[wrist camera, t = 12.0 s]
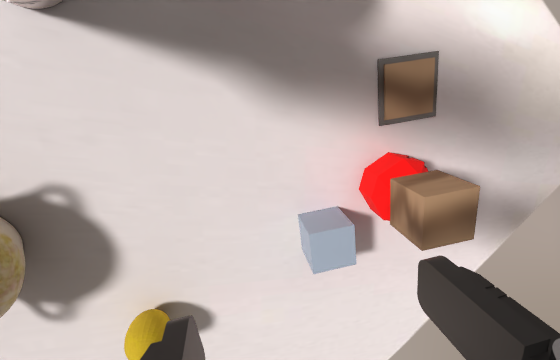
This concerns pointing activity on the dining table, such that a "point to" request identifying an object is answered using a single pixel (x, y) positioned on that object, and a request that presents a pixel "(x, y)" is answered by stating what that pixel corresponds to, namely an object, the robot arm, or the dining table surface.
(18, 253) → the sugar bowl
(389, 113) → the walnut swatch
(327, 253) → the slate cube
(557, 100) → the dining table surface
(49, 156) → the dining table surface
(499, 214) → the dining table surface
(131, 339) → the lemon
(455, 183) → the walnut cube
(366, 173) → the ball
